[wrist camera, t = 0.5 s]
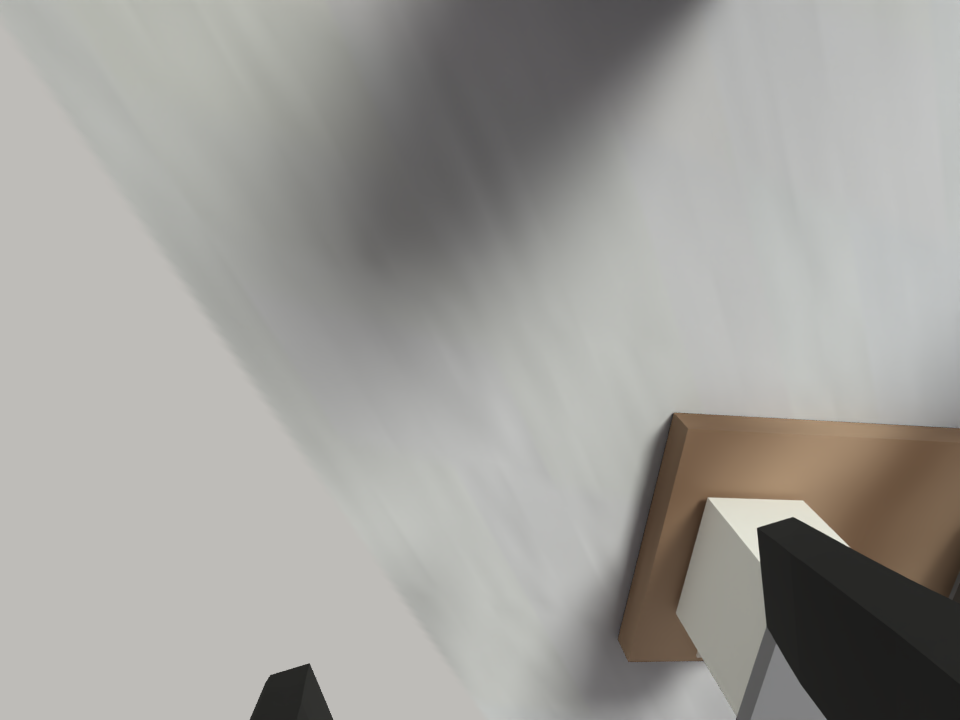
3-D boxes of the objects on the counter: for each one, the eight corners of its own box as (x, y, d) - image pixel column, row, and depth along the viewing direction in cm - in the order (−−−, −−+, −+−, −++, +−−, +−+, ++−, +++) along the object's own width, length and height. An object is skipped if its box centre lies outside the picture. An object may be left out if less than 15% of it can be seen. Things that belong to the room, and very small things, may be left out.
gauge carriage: (805, 499, 23) (908, 600, 19) (753, 657, 25) (836, 780, 21) (706, 495, 22) (790, 600, 18) (661, 658, 24) (728, 785, 20)
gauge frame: (1079, 435, 25) (1284, 545, 20) (989, 636, 28) (1146, 781, 23) (673, 412, 22) (783, 534, 17) (617, 639, 25) (696, 805, 20)
